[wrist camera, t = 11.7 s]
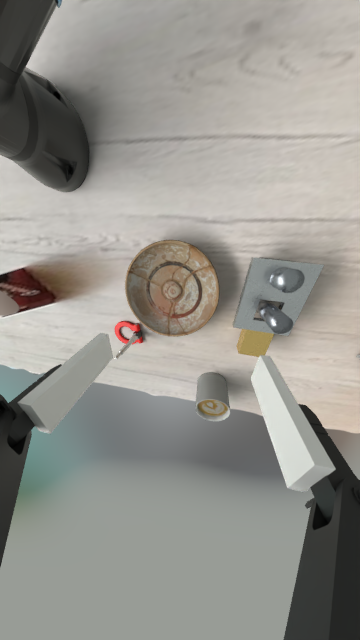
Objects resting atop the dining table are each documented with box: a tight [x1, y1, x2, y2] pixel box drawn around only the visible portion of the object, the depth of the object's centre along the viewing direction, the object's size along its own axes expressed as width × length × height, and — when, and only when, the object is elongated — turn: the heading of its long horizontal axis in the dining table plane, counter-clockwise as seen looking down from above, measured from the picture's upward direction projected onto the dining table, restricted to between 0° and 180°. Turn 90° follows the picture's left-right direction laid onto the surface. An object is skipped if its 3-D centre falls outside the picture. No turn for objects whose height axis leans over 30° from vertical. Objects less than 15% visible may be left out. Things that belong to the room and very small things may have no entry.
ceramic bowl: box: [125, 240, 219, 336], centre depth 37 cm, size 23×24×5 cm
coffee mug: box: [196, 372, 230, 421], centre depth 48 cm, size 13×10×10 cm
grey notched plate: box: [233, 257, 324, 357], centre depth 33 cm, size 22×12×10 cm, turn 175°
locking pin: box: [256, 299, 293, 334], centre depth 31 cm, size 3×3×13 cm
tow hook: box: [114, 321, 143, 359], centre depth 42 cm, size 8×13×9 cm
